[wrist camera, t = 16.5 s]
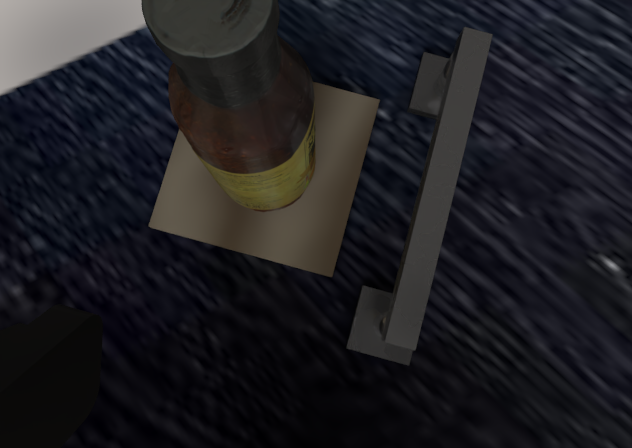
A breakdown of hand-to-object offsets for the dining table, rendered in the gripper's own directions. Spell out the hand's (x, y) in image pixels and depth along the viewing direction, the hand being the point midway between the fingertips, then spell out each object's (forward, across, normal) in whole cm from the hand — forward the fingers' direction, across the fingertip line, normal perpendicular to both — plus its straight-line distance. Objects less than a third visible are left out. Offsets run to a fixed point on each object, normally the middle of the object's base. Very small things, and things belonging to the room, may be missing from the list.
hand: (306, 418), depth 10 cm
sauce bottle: (+26, +8, +4) cm, 28 cm away
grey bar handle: (+28, -2, +4) cm, 28 cm away
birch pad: (+27, +8, +4) cm, 28 cm away
